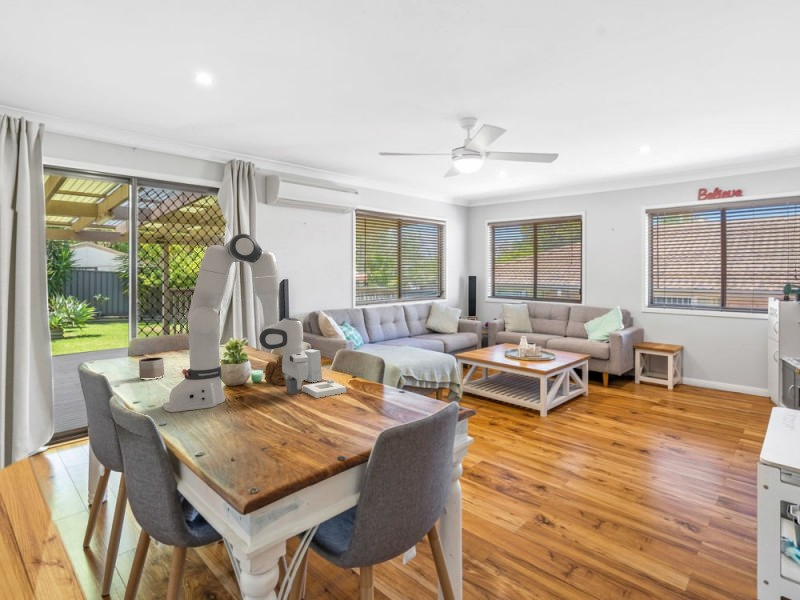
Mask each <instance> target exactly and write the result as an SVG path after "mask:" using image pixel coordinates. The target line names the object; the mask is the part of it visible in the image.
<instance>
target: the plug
mask: <svg viewBox="0 0 800 600" xmlns="http://www.w3.org/2000/svg"><path fill="white" fill-rule="evenodd" d="M296 385H297V379H295V378H293V377H292V378H289V379H286V385H285V387H286V393H287V394H289V395H290V396H292V395H299V394H302V393H303V384H302V385H301V389H297V388H296ZM298 393H299V394H298Z"/></svg>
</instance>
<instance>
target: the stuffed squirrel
mask: <svg viewBox="0 0 800 600" xmlns="http://www.w3.org/2000/svg"><path fill="white" fill-rule="evenodd" d="M275 359H276V361H268V362H267V364H266V366H265V374H264V378H263V379H264V381H265V382H267V384H274V385H277V386H286V379H287V376H286V374H285V373H283V371H282V359H283V354H281V355H280V354H279V356H276V357H275Z"/></svg>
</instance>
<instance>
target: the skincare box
mask: <svg viewBox="0 0 800 600" xmlns="http://www.w3.org/2000/svg"><path fill="white" fill-rule="evenodd" d="M304 352H305V354H306V355H307V356H308V361H306V362H307V366H308V375H307V379H306V380H305V381H304V382H309V383H311V382H312V383H311V384H314V383H318V382H317V381H319V382H322V381H323V374H322V357H321V350H319V349H313V348H312V349H304ZM321 380H322V381H321ZM313 382H314V383H313Z"/></svg>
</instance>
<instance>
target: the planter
mask: <svg viewBox="0 0 800 600" xmlns="http://www.w3.org/2000/svg"><path fill="white" fill-rule="evenodd" d="M164 365H165V363H164V357H157V356H156V357H154V356H153V357H146V358H141V359H139V360H138V371H139V372H138V373H139V374H138V376H139V379H140V378H155V377H160V376H163V375H164V376H165V366H164Z"/></svg>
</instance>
